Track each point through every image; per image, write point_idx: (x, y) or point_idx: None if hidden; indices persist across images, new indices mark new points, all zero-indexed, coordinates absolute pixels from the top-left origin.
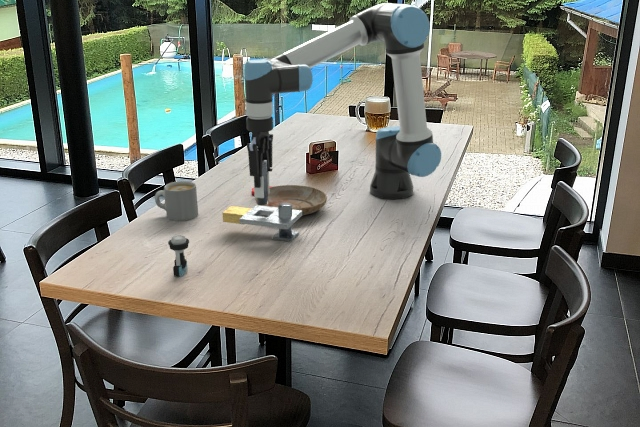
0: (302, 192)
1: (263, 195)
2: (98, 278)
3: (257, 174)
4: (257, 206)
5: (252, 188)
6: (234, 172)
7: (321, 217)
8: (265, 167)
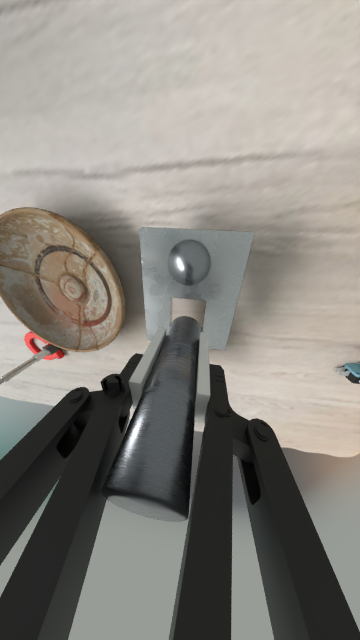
0: (15, 286)
1: (204, 337)
2: (353, 430)
3: (276, 440)
4: (152, 336)
5: (49, 359)
6: (21, 386)
7: (77, 213)
8: (169, 433)
